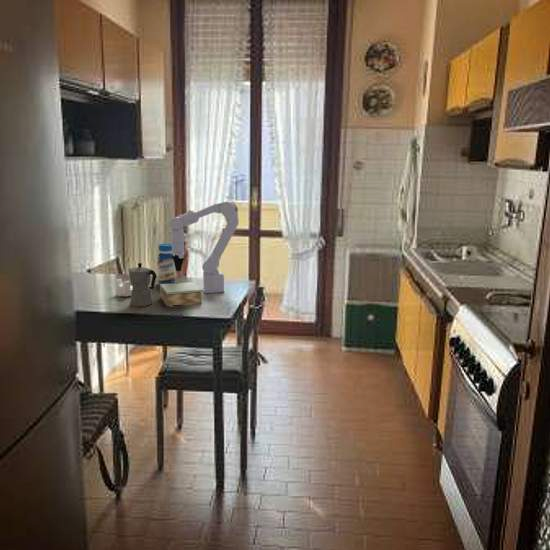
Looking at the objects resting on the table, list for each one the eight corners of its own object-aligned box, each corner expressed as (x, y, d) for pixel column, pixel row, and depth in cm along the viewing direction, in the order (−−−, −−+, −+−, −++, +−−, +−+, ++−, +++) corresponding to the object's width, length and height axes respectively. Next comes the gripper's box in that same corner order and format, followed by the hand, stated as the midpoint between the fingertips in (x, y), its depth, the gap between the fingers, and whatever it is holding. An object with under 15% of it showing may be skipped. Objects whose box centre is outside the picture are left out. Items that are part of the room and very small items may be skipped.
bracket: (125, 298, 244) (124, 282, 243) (116, 295, 249) (115, 279, 247) (149, 293, 254) (148, 277, 252) (140, 291, 258) (139, 275, 257)
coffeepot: (121, 304, 234) (120, 263, 230) (137, 299, 242) (135, 259, 238) (149, 309, 226) (148, 267, 223) (164, 304, 234) (163, 263, 231)
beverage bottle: (176, 282, 277) (175, 243, 273) (173, 285, 269) (172, 245, 265) (159, 281, 277) (158, 243, 273) (156, 285, 269) (155, 245, 265)
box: (193, 295, 250) (193, 285, 249) (201, 303, 237) (201, 292, 236) (160, 298, 245) (160, 287, 244) (167, 306, 231) (166, 295, 230)
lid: (192, 291, 251) (192, 281, 250) (201, 299, 236) (201, 289, 235) (160, 293, 245) (159, 284, 244) (167, 302, 231) (166, 292, 230)
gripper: (166, 240, 261) (167, 268, 264) (172, 245, 248) (173, 274, 250) (180, 240, 263) (181, 267, 266) (187, 244, 250) (188, 273, 253)
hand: (178, 270), depth 258 cm, fingers closed
